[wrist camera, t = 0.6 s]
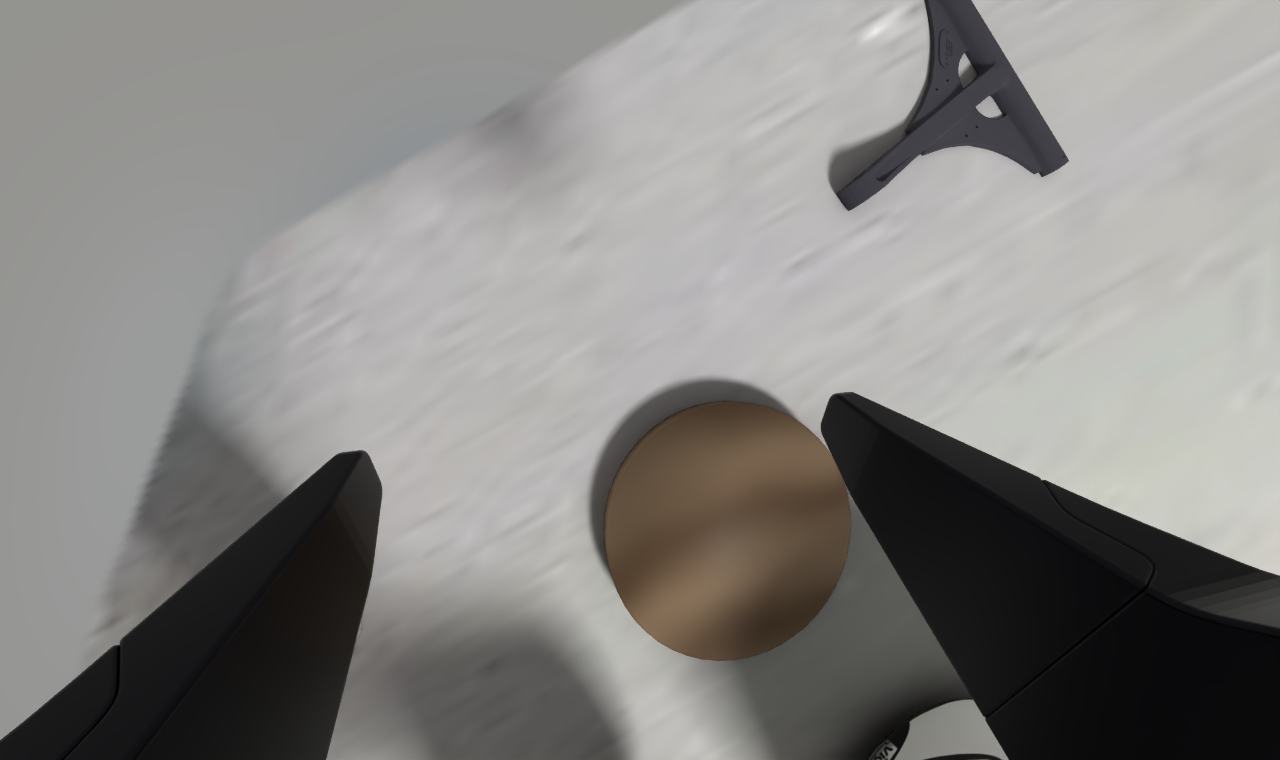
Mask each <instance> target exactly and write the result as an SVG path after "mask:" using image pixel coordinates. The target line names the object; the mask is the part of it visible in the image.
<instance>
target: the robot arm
mask: <svg viewBox="0 0 1280 760" xmlns="http://www.w3.org/2000/svg"><path fill="white" fill-rule="evenodd" d="M821 432H822V435H823V437H824V439H825V442H826V444H827V446H828V448H829V450H830V452H831V454H832V457H833V459H834V461H835V463H836V465H837V467H838V469H839V472H840V474H841V476H842V478H843V480H844V482H845V484H846V486H847V488H848V490H849V492H850V494H851V496H852V498H853V500H854V502H855V503H856V505H857V507H858V508H859V510H860V512H861V513H862V515H863V517H864V518H865V520H866V522H867V523H868V525H869V527H870V528H871V530H872V532H873V533H874V535H875V537H876V538H877V540H878V542H879V543H880V545H881V547H882V548H883V550H884V552H885V553H886V555H887V557H888V559H889V560H890V562H891V564H892V565H893V567H894V569H895V570H896V572H897V574H898V575H899V577H900V579H901V580H902V582H903V584H904V585H905V587H906V589H907V590H908V592H909V594H910V595H911V597H912V599H913V600H914V602H915V604H916V605H917V607H918V609H919V610H920V612H921V614H922V615H923V617H924V619H925V620H926V622H927V624H928V625H929V627H930V629H931V630H932V632H933V634H934V635H935V637H936V639H937V640H938V642H939V644H940V645H941V647H942V649H943V650H944V652H945V654H946V655H947V657H948V659H949V660H950V662H951V664H952V665H953V667H954V669H955V670H956V672H957V674H958V675H959V677H960V679H961V680H962V682H963V684H964V685H965V687H966V689H967V690H968V692H969V694H970V695H971V697H972V699H973V700H974V702H975V704H976V705H977V707H978V709H979V710H980V712H981V714H982V715H983V717H985V721H986V723H987V724H988V726H989V728H990V729H991V731H992V733H993V734H994V736H995V738H996V739H997V741H998V743H999V744H1000V746H1001V748H1002V749H1003V751H1004V753H1005V754H1006V756H1007V758H1008V759H1009V760H1280V576H1279V575H1276V574H1272V573H1269V572H1266V571H1263V570H1260V569H1257V568H1254V567H1252V566H1249V565H1246V564H1244V563H1241V562H1239V561H1236V560H1234V559H1231V558H1229V557H1226V556H1224V555H1222V554H1219V553H1217V552H1214V551H1212V550H1209V549H1207V548H1204V547H1202V546H1199V545H1197V544H1194V543H1192V542H1190V541H1187V540H1185V539H1182V538H1180V537H1177V536H1175V535H1172V534H1170V533H1167V532H1165V531H1162V530H1160V529H1157V528H1155V527H1153V526H1150V525H1148V524H1145V523H1143V522H1140V521H1138V520H1136V519H1133V518H1131V517H1128V516H1126V515H1124V514H1121V513H1119V512H1116V511H1114V510H1112V509H1109V508H1107V507H1104V506H1102V505H1100V504H1098V503H1095V502H1093V501H1091V500H1089V499H1086V498H1084V497H1082V496H1079V495H1077V494H1075V493H1073V492H1070V491H1068V490H1066V489H1064V488H1062V487H1059V486H1057V485H1055V484H1053V483H1051V482H1049V481H1046V480H1041V479H1040V478H1039V477H1037V476H1035V475H1033V474H1031V473H1029V472H1026V471H1024V470H1022V469H1020V468H1018V467H1016V466H1013V465H1011V464H1009V463H1007V462H1005V461H1002V460H1000V459H998V458H996V457H994V456H991V455H989V454H987V453H985V452H983V451H980V450H978V449H976V448H974V447H972V446H970V445H967V444H965V443H963V442H961V441H959V440H956V439H954V438H952V437H950V436H948V435H945V434H943V433H941V432H939V431H937V430H935V429H932V428H930V427H928V426H926V425H924V424H921V423H919V422H917V421H915V420H913V419H910V418H908V417H906V416H904V415H902V414H900V413H897V412H895V411H893V410H891V409H889V408H886V407H884V406H882V405H880V404H878V403H875V402H873V401H871V400H869V399H867V398H864V397H862V396H860V395H858V394H856V393H853V392H844V393H836V394H833V395H832V396H831V397H830V399H829V401H828V404H827V407H826V410H825V413H824V416H823V419H822V422H821ZM381 500H382V485H381V481H380V479H379V477H378V474H377V472H376V470H375V468H374V465H373V463H372V461H371V458H370V456H369V455H368V453H367V452H366V451H363V450H358V451H350V452H342V453H339V454H337V455H335V456H334V457H333V458H332V459H330V460H329V461H328V462H327V463H326V464H325V465H323V466H322V467H321V468H320V469H319V470H318V471H316V472H315V473H314V474H313V475H312V476H311V477H309V478H308V479H307V480H306V481H305V482H304V483H303V484H301V485H300V486H299V487H298V488H297V489H296V490H294V491H293V492H292V493H291V494H290V495H289V496H287V497H286V498H285V499H284V500H283V501H282V502H280V503H279V504H278V505H277V506H276V507H275V508H273V509H272V510H271V511H270V512H269V513H268V514H266V515H265V516H264V517H263V518H262V519H261V520H259V521H258V522H257V523H256V524H255V525H254V526H252V527H251V528H250V529H249V530H248V531H247V532H246V533H244V534H243V535H242V536H241V537H240V538H239V539H237V540H236V541H235V542H234V543H233V544H232V545H230V546H229V547H228V548H227V549H226V550H225V551H223V552H222V553H221V554H220V555H219V556H218V557H216V558H215V559H214V560H213V561H212V562H211V563H209V564H208V565H207V566H206V567H205V568H204V569H202V570H201V571H200V572H199V573H198V574H197V575H195V576H194V577H193V578H192V579H191V580H190V581H189V582H187V583H186V584H185V585H184V586H183V587H182V588H180V589H179V590H178V591H177V592H176V593H175V594H173V595H172V596H171V597H170V598H169V599H168V600H166V601H165V602H164V603H163V604H162V605H161V606H159V607H158V608H157V609H156V610H155V611H154V612H152V613H151V614H150V615H149V616H148V617H147V618H145V619H144V620H143V621H142V622H141V623H140V624H138V625H137V626H136V627H135V628H134V629H133V630H131V631H130V632H129V633H128V634H127V635H126V636H124V637H123V638H122V639H121V641H120V645H115V646H113V647H111V648H110V649H109V650H108V651H107V652H106V653H104V654H103V655H102V656H101V657H100V658H99V659H97V660H96V661H95V662H94V663H93V664H92V665H90V666H89V667H88V668H87V669H86V670H85V671H84V672H82V673H81V674H80V675H79V676H78V677H76V678H75V679H74V680H73V681H72V682H71V683H69V684H68V685H67V686H66V687H65V688H63V689H62V690H61V691H60V692H58V693H57V694H56V695H55V696H54V697H53V698H51V699H50V700H49V701H48V702H47V703H45V704H44V705H43V706H42V707H41V708H39V709H38V710H37V711H36V712H35V713H33V714H32V715H31V716H30V717H29V718H27V719H26V720H25V721H24V722H23V723H21V724H20V725H19V726H18V727H16V728H15V729H14V730H13V731H11V732H10V733H9V734H8V735H6V736H5V737H4V738H3V739H1V740H0V760H326V758H327V754H328V750H329V746H330V742H331V738H332V734H333V730H334V726H335V722H336V718H337V714H338V710H339V706H340V702H341V698H342V694H343V690H344V686H345V682H346V678H347V674H348V670H349V666H350V662H351V658H352V654H353V650H354V646H355V642H356V638H357V634H358V630H359V626H360V622H361V618H362V614H363V610H364V606H365V602H366V598H367V594H368V590H369V586H370V581H371V577H372V571H373V564H374V557H375V548H376V540H377V532H378V524H379V516H380V508H381Z"/></svg>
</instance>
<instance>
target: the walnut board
mask: <svg viewBox="0 0 1280 760" xmlns="http://www.w3.org/2000/svg"><path fill="white" fill-rule="evenodd" d="M850 530H851V518H850V505H849V500H848V494H847V490H846V487H845V483H844V480H843V478H842V476H841V474H840V472H839V469H838V467H837V465H836V463H835V461H834V459H833V457H832V455H831V454H830V452H829V451H828V449H827V448H826V447H825V446H824V444H823V443H822V442H821V441H820V439H819V438H818V437H817V436H816V435H815V434H814V433H812V432H811V431H810V430H809V429H808V428H807V427H806V426H804V425H803V424H801V423H800V422H799V421H797V420H796V419H794V418H792V417H790V416H788V415H787V414H785V413H783V412H780V411H777V410H775V409H772V408H769V407H766V406H761V405H756V404H751V403H743V402H731V401H722V402H710V403H705V404H700V405H696V406H693V407H690V408H687V409H685V410H682V411H680V412H678V413H676V414H674V415H672V416H670V417H668V418H666V419H665V420H663V421H662V422H660V423H659V424H658V425H656V426H655V427H653V428H652V429H651V430H650V431H649V432H648V433H647V434H646V435H644V436H643V437H642V438H641V439H640V440H639V442H638V443H637V444H636V445H635V446H634V447H633V449H632V450H631V451H630V452H629V454H628V455H627V457H626V459H625V460H624V462H623V463H622V465H621V467H620V469H619V471H618V473H617V475H616V477H615V479H614V481H613V484H612V487H611V490H610V493H609V496H608V500H607V505H606V510H605V519H604V543H605V550H606V555H607V561H608V565H609V568H610V571H611V575H612V578H613V581H614V584H615V587H616V589H617V592H618V594H619V596H620V598H621V600H622V602H623V604H624V606H625V607H626V608H627V610H628V611H629V613H630V614H631V616H632V617H633V619H634V620H635V621H636V622H637V623H638V624H639V625H640V626H641V627H642V628H643V629H644V630H645V631H646V632H647V633H648V634H649V635H651V636H652V637H653V638H654V639H656V640H657V641H658V642H660V643H661V644H663V645H665V646H667V647H668V648H670V649H672V650H674V651H677V652H679V653H682V654H684V655H687V656H691V657H695V658H699V659H705V660H715V661H724V660H737V659H742V658H748V657H752V656H755V655H758V654H761V653H764V652H767V651H769V650H771V649H773V648H775V647H777V646H779V645H781V644H783V643H784V642H786V641H787V640H789V639H790V638H792V637H793V636H795V635H796V634H797V633H798V632H800V631H801V630H802V629H803V628H804V627H806V626H807V625H808V624H809V622H810V621H811V620H812V619H813V618H814V617H815V616H816V615H817V614H818V613H819V611H820V610H821V609H822V607H823V606H824V605H825V603H826V602H827V601H828V599H829V597H830V595H831V594H832V592H833V590H834V589H835V587H836V585H837V582H838V580H839V578H840V575H841V573H842V570H843V567H844V564H845V561H846V557H847V553H848V547H849V542H850Z"/></svg>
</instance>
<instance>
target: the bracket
mask: <svg viewBox="0 0 1280 760" xmlns="http://www.w3.org/2000/svg"><path fill="white" fill-rule="evenodd" d="M925 5H926V9H927V14H928V19H929V26H930V35H931V62H930V73H929V82H928V86H927V89H926V92H925V94H924V97H923V100H922V102H921V105H920V107H919V109H918V111H917V113H916V115H915V116H914V118H913V120H912V121H911V123H910V125H909V126H908V128H907V130H906V132H907V134H908V135H907V136H906V137H905V138H904V139H902V140H901V141H900V142H899V143H898V144H896V145H895V146H894V147H893V148H892V149H890V150H889V151H888V152H887V153H885V154H884V155H883V156H882V157H881V158H879V159H878V160H877V161H876V162H875V163H873V164H872V165H871V166H870V167H868V168H867V169H866V170H865V171H864V172H862V173H861V174H860V175H859V176H858V177H856V178H855V179H854V180H853V181H852V182H850V183H849V184H848V185H847V186H845V187H844V188H843V189H842V190H841V191H839V192H838V193H837V195H838V197H839V198H840V200H841V201H842V202H843V204H844V205H845V207H846V208H847V210H848V211H849V210H852V209H853V208H855V207H857V206H858V205H860V204H861V203H863V202H864V201H866V200H867V199H869V198H870V197H872V196H873V195H874V194H876V193H877V192H878V191H880V190H881V189H882V188H884V187H885V186H886V185H887V184H888V183H889V182H890V181H891V180H892V179H893V178H894V177H895V176H896V175H897V174H898V173H900V172H901V171H902V170H903V169H904V168H905V167H906V166H907V165H908V164H909V163H910V162H911V161H912V160H914V159H915V158H916V157H917V156H918V155H919V154H921V155H922V156H923V155H926V154H929V153H931V152H934V151H937V150H940V149H943V148H948V147H955V146H967V145H968V146H974V147H979V148H984V149H988V150H991V151H994V152H997V153H999V154H1002V155H1004V156H1006V157H1008V158H1010V159H1012V160H1014V161H1015V162H1017V163H1018V164H1020V165H1021V166H1023V167H1024V168H1026V169H1027V170H1029V171H1030V172H1031V173H1033V174H1036V173H1038V172H1039V173H1040V175H1041V177H1043V176H1046V175H1048V174H1050V173H1052V172H1054V171H1055V170H1057V169H1059V168H1060V167H1062V166H1063V165H1065V164H1066V163H1067V162H1068V161H1069V160H1068V158H1067V156H1066V155H1065V153H1064V151H1063V150H1062V148H1061V146H1060V145H1059V143H1058V142H1057V140H1056V138H1055V137H1054V135H1053V133H1052V132H1051V130H1050V128H1049V127H1048V125H1047V124H1046V122H1045V120H1044V119H1043V117H1042V115H1041V114H1040V112H1039V110H1038V109H1037V107H1036V105H1035V104H1034V102H1033V101H1032V99H1031V97H1030V96H1029V94H1028V92H1027V91H1026V89H1025V87H1024V86H1023V84H1022V83H1021V81H1020V79H1019V78H1018V76H1017V74H1016V73H1015V71H1014V69H1013V68H1012V66H1011V65H1010V63H1009V61H1008V60H1007V58H1006V56H1005V55H1004V53H1003V51H1002V50H1001V48H1000V47H999V45H998V43H997V42H996V40H995V38H994V37H993V35H992V33H991V32H990V30H989V29H988V27H987V25H986V24H985V22H984V20H983V19H982V17H981V15H980V14H979V12H978V11H977V9H976V7H975V6H974V4H973V2H972V1H971V0H925ZM964 52H965V54H966V55H967V57H968V59H969V60H970V62H971V64H972V65H973V67H974V69H975V70H976V73H977V77H976V78H975V79H974V80H973V81H972V82H971V83H970V84H969V85H968V86H967V87H966V88H963V87H962V85H961V83H960V79H959V74H958V66H959V61H960V59H961V57H962V55H963V53H964ZM988 96H991V97H992V98H993V99H994V101H995V102H996V104H997V106H998V107H999V109H1000V110H1001V112H1002V114H1003V115H1004V117H1003V118H1001V119H990V118H987V117H985V116H983V115H982V114H981V113H979V112H978V110H977V109H976V106H977V105H978V104H979V103H981V102H982V101H983V100H984V99H985V98H987V97H988Z"/></svg>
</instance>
